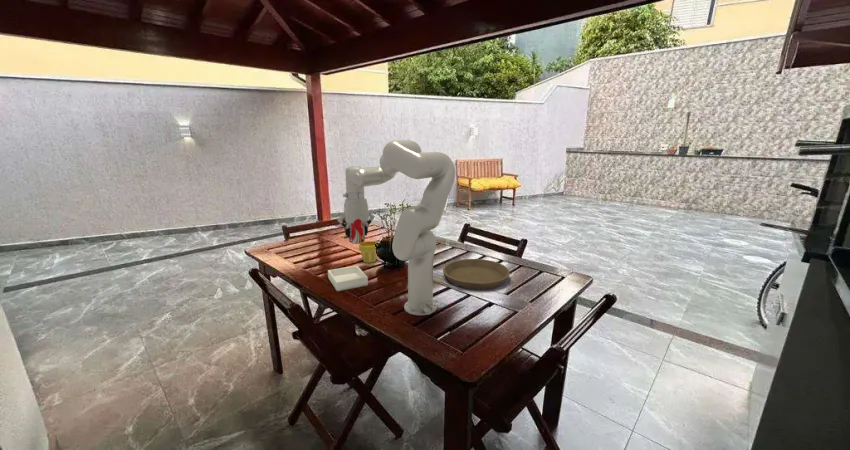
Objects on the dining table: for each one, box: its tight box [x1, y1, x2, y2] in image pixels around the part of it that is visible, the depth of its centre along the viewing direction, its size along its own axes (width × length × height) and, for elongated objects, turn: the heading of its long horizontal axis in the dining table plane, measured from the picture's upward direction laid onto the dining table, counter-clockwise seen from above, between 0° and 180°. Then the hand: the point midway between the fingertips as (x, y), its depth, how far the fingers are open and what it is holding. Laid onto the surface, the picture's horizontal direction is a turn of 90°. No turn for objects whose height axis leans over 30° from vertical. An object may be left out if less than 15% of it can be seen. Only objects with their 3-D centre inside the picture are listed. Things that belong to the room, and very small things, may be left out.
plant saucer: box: [442, 258, 511, 290], centre depth 166 cm, size 31×31×5 cm
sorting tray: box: [327, 265, 369, 292], centre depth 160 cm, size 16×14×4 cm
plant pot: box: [358, 240, 378, 264], centre depth 187 cm, size 10×10×10 cm
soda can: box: [348, 217, 366, 245], centre depth 154 cm, size 7×7×12 cm
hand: (356, 235), depth 154 cm, fingers closed on soda can, 7 cm apart
